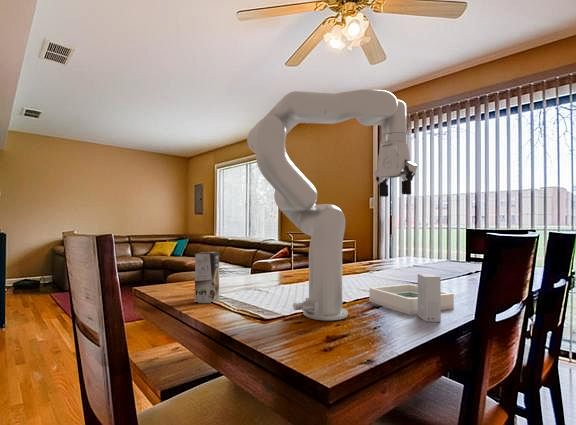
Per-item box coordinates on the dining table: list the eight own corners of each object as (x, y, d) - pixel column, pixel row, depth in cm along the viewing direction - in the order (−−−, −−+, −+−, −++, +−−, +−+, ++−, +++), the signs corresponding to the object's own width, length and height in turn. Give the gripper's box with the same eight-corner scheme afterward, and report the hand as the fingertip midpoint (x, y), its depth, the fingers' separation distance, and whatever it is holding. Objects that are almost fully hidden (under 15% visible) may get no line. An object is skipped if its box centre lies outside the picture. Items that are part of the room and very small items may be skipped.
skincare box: (441, 322, 90) (441, 277, 90) (425, 322, 90) (425, 276, 90) (432, 315, 96) (431, 273, 96) (417, 315, 96) (416, 273, 96)
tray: (409, 315, 96) (409, 299, 96) (369, 301, 113) (369, 287, 113) (453, 308, 104) (453, 293, 104) (410, 296, 120) (409, 283, 120)
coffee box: (213, 303, 109) (214, 253, 110) (193, 303, 109) (194, 253, 110) (219, 297, 118) (220, 251, 119) (201, 297, 118) (202, 250, 119)
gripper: (366, 145, 112) (367, 197, 112) (405, 133, 97) (406, 193, 96) (383, 147, 116) (384, 197, 115) (424, 136, 100) (425, 193, 100)
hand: (394, 195), depth 106 cm, fingers open, 9 cm apart
